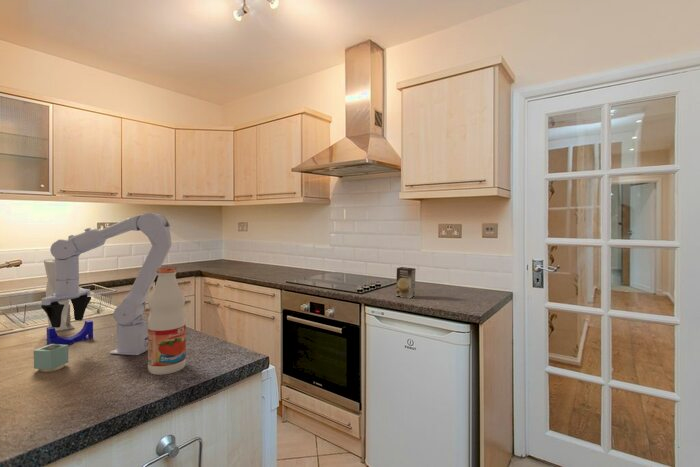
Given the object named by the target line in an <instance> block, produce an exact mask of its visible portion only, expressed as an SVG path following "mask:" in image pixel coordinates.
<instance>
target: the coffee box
mask: <svg viewBox="0 0 700 467" xmlns="http://www.w3.org/2000/svg"><path fill="white" fill-rule="evenodd" d="M416 270H417V269H416V268H415V267H413V268H412V267H406V266H405V267H404V266H401V267H396V287H395V289H396V290H395V291H396V292H395V297H396V296H403V297H410V298H411V297H413V296H416V273H417V272H416ZM413 298H414V297H413ZM411 299H412V298H411Z"/></svg>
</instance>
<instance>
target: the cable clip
mask: <svg viewBox="0 0 700 467" xmlns="http://www.w3.org/2000/svg"><path fill="white" fill-rule="evenodd" d="M93 338H94V321H93V320H91V319H87V320H84V324H83V327H82V329H80V330H79V331H78V332H76V333H75V334H73V335H71V336H60V335H59V334H58V332H56V331H55V328H54V327H49V326H47V327H46V346H47V345H50V344H62V345H68V346H69V345H73V344H74V343H75V342H81V341H86V340H91V339H93Z"/></svg>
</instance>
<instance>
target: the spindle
mask: <svg viewBox="0 0 700 467" xmlns="http://www.w3.org/2000/svg"><path fill="white" fill-rule="evenodd" d="M55 348H56V347H55V346H49V347H48V348H47V350H53V349H55ZM65 365H66V364H64V365H61V366H59V367H57V368H54V369H52V370H46V369H37V370H38V372H39V373H51V372H55V371H56V372H57V371H59V370H62V369H63V368H64V367H66V366H65Z"/></svg>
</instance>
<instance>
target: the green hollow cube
mask: <svg viewBox="0 0 700 467" xmlns="http://www.w3.org/2000/svg"><path fill="white" fill-rule="evenodd" d="M49 346H55V347H56V348H55V349H53V350H47V348H48V347H49ZM68 363H69V345H62V344H50V345H47V344H46V345H44V346H42V347H39V348H36V349H33V369H37V370H38V369H46V370H52V369H54V368H57V367H59V366H61V365H64V364H65V365H66V364H68Z"/></svg>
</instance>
